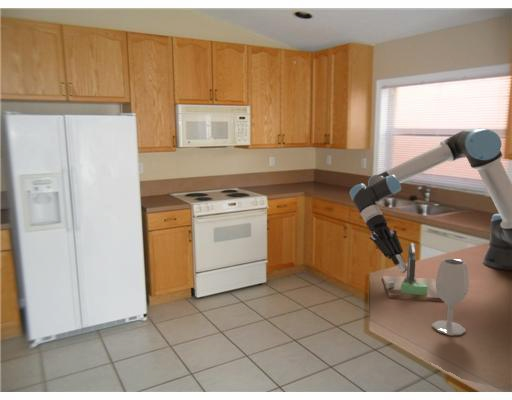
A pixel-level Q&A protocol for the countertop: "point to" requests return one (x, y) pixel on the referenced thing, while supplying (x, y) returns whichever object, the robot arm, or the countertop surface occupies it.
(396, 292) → the brown square base board
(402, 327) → the countertop surface
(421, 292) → the gauge marks
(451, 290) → the wineglass
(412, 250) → the signpost stand
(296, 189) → the countertop surface
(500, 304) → the countertop surface
